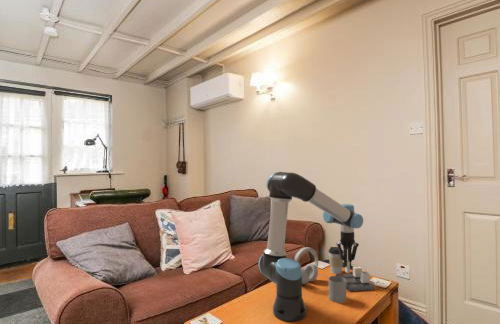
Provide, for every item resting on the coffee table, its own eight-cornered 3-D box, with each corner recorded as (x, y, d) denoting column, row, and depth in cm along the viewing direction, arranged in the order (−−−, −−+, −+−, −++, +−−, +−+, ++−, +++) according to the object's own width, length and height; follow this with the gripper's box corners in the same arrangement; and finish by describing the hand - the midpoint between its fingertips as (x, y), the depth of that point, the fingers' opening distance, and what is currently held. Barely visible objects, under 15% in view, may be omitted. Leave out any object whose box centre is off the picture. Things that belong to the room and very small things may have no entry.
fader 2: (362, 283, 158) (362, 273, 158) (360, 280, 161) (359, 271, 161) (369, 282, 159) (369, 273, 159) (366, 280, 162) (366, 271, 162)
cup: (347, 303, 141) (346, 283, 141) (329, 302, 143) (329, 282, 143) (345, 295, 150) (344, 276, 150) (328, 294, 151) (328, 275, 151)
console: (348, 291, 154) (348, 285, 154) (335, 277, 172) (335, 272, 172) (373, 289, 155) (373, 284, 155) (358, 276, 173) (358, 271, 173)
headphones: (299, 289, 157) (299, 252, 157) (289, 284, 164) (288, 249, 164) (322, 280, 169) (322, 246, 168) (312, 276, 175) (311, 243, 175)
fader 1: (355, 277, 166) (355, 268, 166) (352, 275, 169) (352, 266, 169) (362, 277, 167) (361, 268, 167) (359, 274, 170) (359, 266, 170)
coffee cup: (345, 270, 183) (345, 247, 183) (341, 275, 175) (341, 250, 175) (331, 268, 188) (330, 245, 187) (326, 272, 180) (326, 248, 180)
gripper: (339, 233, 163) (339, 275, 163) (361, 232, 164) (361, 274, 164) (333, 229, 170) (334, 270, 170) (355, 229, 172) (355, 269, 172)
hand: (347, 272), depth 167 cm, fingers closed
